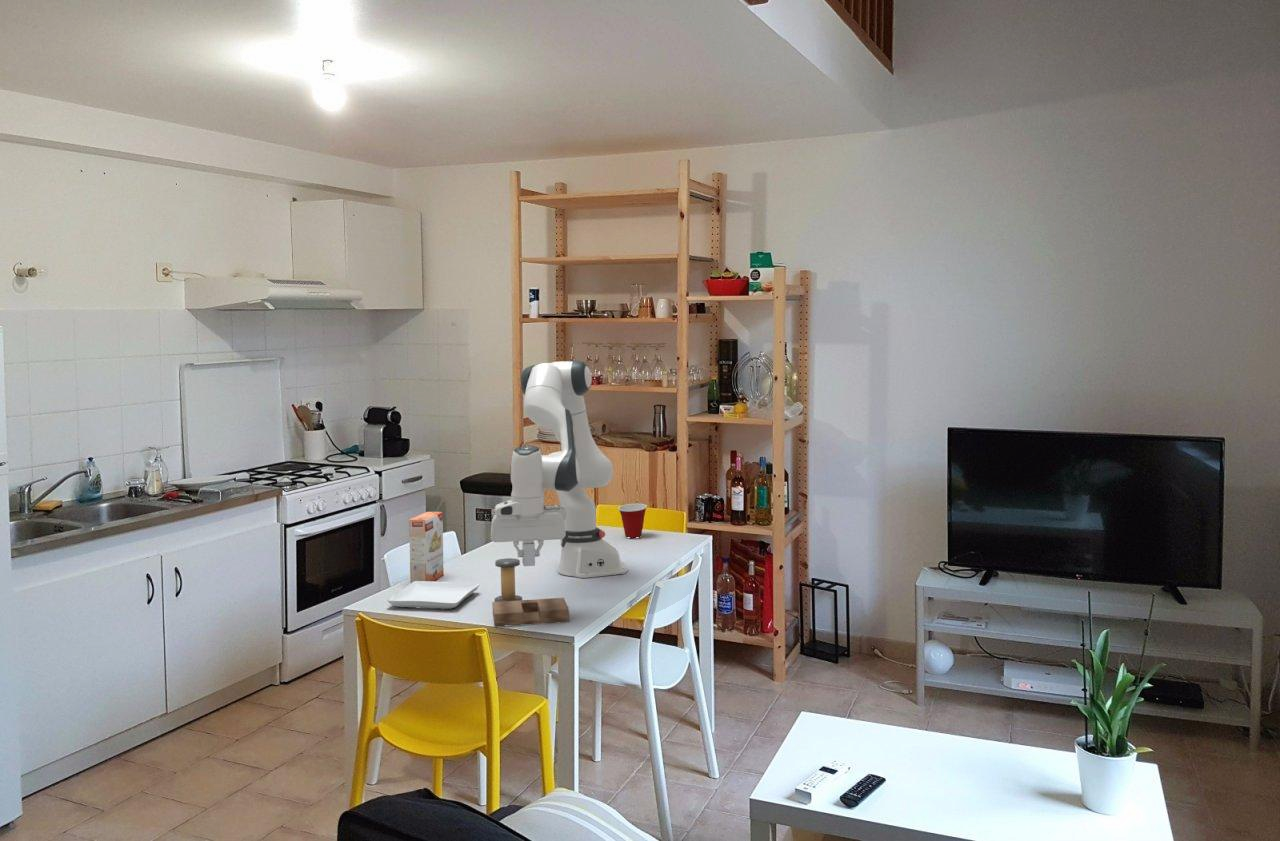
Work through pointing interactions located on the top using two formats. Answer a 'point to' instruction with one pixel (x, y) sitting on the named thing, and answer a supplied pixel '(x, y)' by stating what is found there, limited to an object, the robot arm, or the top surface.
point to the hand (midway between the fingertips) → (528, 556)
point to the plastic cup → (633, 519)
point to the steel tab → (528, 553)
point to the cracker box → (426, 546)
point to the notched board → (530, 611)
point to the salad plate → (432, 594)
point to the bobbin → (507, 579)
